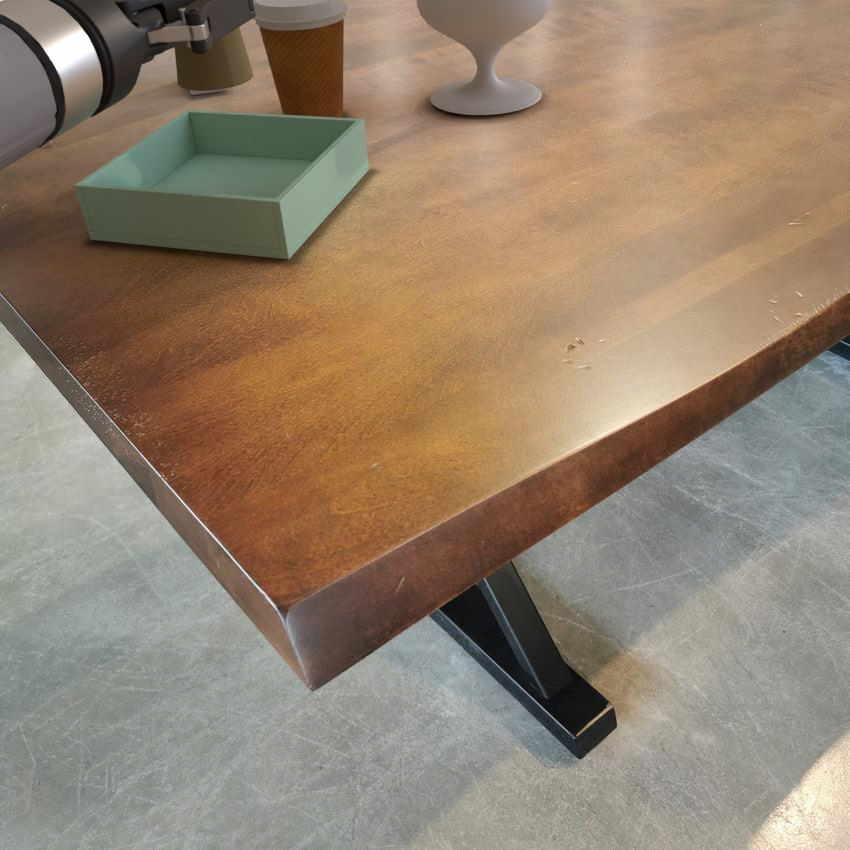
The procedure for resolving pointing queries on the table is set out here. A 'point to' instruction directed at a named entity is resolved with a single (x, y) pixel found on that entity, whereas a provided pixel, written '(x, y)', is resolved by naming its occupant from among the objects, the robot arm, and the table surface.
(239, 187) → the square tray
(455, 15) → the chalice
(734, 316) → the table surface
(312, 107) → the disposable coffee cup
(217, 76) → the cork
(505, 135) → the table surface
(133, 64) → the robot arm
